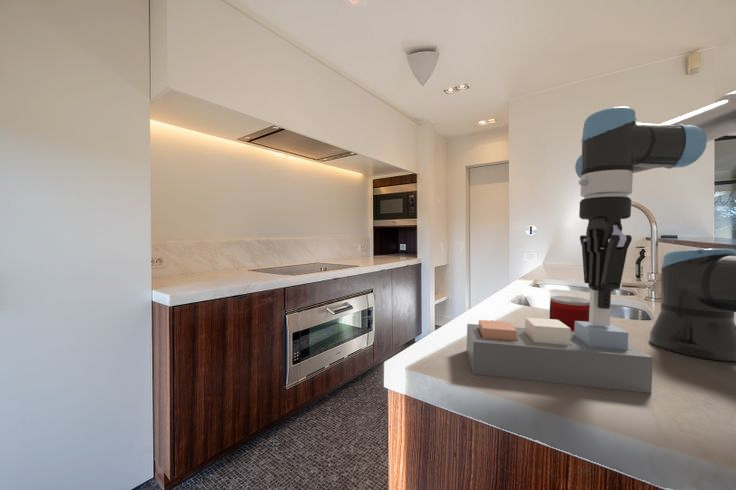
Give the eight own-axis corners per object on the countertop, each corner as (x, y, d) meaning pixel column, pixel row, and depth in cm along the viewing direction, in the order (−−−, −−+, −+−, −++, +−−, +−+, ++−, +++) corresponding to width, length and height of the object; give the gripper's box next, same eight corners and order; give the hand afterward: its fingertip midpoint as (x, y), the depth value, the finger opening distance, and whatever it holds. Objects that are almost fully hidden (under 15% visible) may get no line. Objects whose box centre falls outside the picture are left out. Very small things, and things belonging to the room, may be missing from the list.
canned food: (595, 352, 68) (597, 303, 68) (556, 349, 70) (557, 301, 69) (579, 341, 76) (580, 296, 75) (544, 338, 77) (545, 295, 77)
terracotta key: (508, 345, 63) (509, 322, 63) (515, 357, 58) (516, 330, 57) (478, 343, 65) (478, 319, 65) (482, 353, 59) (482, 328, 59)
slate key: (608, 348, 59) (609, 323, 59) (627, 360, 54) (628, 332, 53) (573, 345, 61) (574, 320, 61) (588, 357, 55) (589, 329, 55)
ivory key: (557, 344, 61) (557, 319, 61) (569, 355, 56) (570, 328, 55) (524, 341, 63) (525, 317, 63) (533, 352, 57) (534, 325, 57)
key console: (610, 363, 62) (612, 334, 62) (651, 393, 50) (652, 357, 50) (466, 350, 68) (467, 323, 68) (472, 373, 57) (473, 341, 56)
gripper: (567, 201, 64) (562, 314, 64) (599, 192, 51) (593, 333, 52) (608, 201, 62) (603, 317, 63) (653, 192, 49) (646, 337, 50)
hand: (599, 324), depth 57 cm, fingers closed
